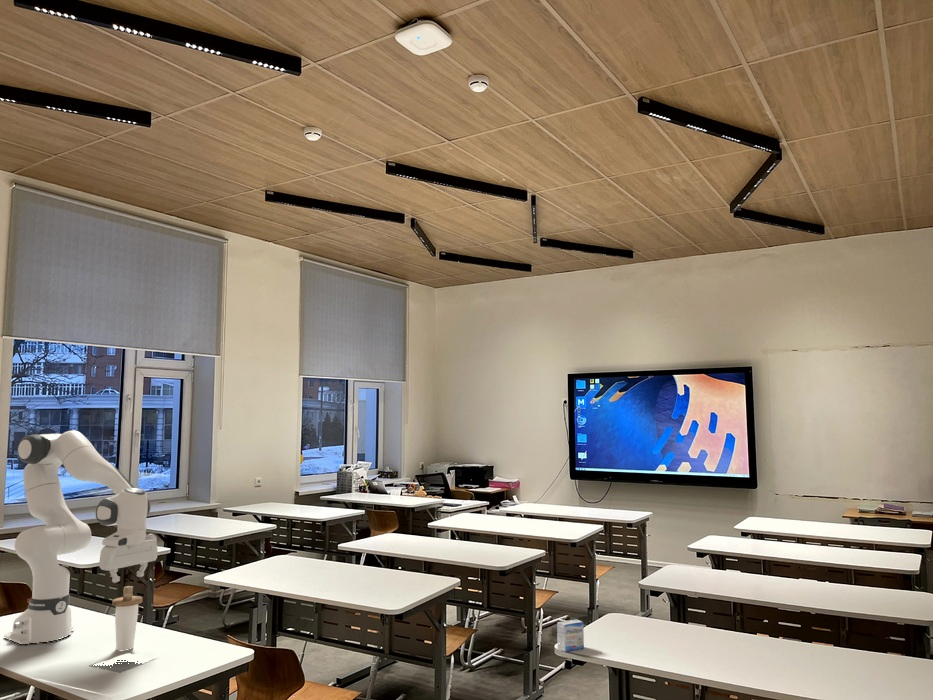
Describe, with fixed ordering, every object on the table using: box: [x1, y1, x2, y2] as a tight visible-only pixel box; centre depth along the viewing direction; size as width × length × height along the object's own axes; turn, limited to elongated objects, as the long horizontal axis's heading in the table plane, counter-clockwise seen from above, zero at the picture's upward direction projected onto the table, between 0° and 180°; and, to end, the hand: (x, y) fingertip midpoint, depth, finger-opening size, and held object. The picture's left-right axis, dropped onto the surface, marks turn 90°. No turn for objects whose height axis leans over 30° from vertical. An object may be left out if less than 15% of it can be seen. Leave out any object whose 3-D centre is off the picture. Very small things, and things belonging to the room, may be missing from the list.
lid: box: [111, 585, 143, 607], centre depth 224 cm, size 9×9×5 cm
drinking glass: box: [114, 604, 139, 651], centre depth 223 cm, size 7×7×15 cm
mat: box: [88, 660, 143, 673], centre depth 209 cm, size 14×14×1 cm
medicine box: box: [556, 618, 585, 653], centre depth 223 cm, size 8×4×9 cm, turn 117°
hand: (128, 579), depth 225 cm, fingers open, 8 cm apart
